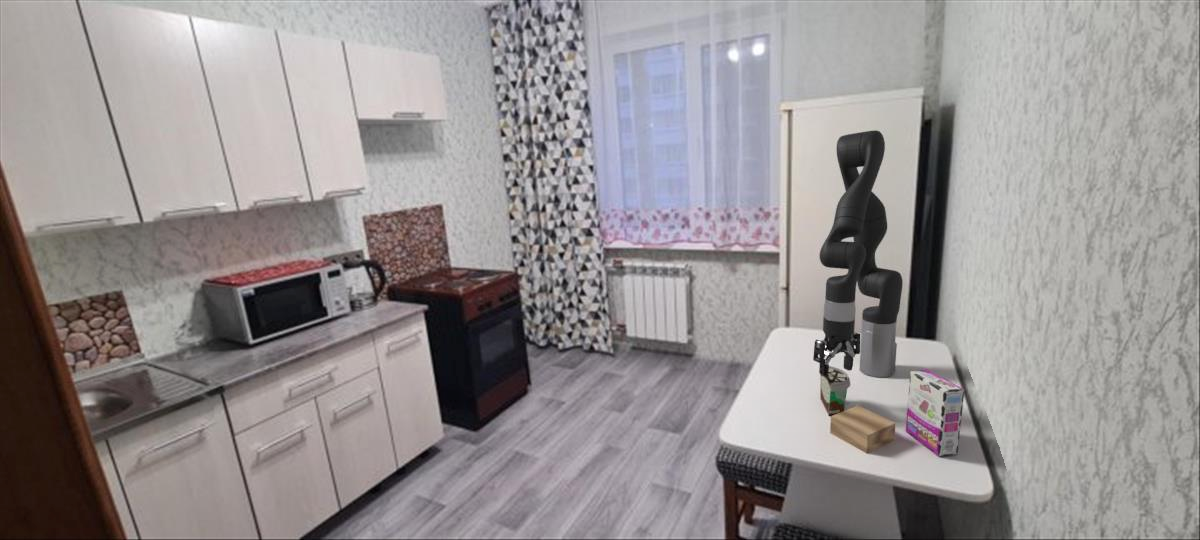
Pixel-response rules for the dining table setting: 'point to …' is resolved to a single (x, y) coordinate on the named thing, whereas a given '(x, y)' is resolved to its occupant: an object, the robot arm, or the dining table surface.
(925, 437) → the candy bar box
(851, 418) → the oak block
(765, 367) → the dining table surface
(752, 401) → the dining table surface
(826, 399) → the food container
